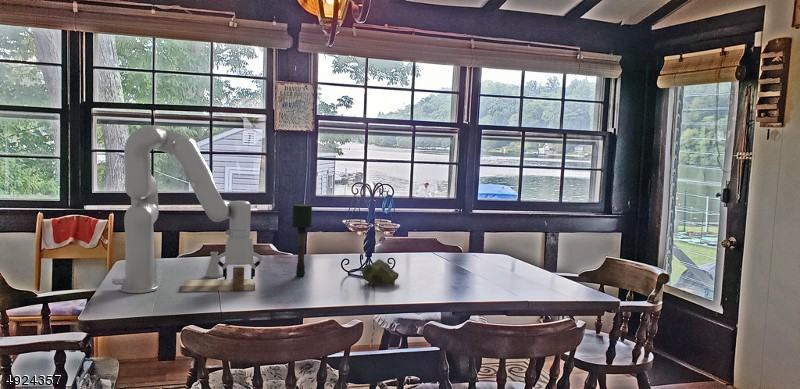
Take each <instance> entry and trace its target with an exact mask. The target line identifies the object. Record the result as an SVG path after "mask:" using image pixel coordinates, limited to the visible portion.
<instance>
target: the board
mask: <svg viewBox="0 0 800 389" xmlns="http://www.w3.org/2000/svg"><path fill="white" fill-rule="evenodd" d="M231 290H232V291H233V278H232V279H229V278H227V279H226V280H225V278H224V279H184V280H183V283H182V285H181V292H216V291H217V292H219V291H220V292H222V291H231ZM244 291H256V279H255V278H253V279H251V278H244Z"/></svg>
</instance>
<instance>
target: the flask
mask: <svg viewBox="0 0 800 389" xmlns="http://www.w3.org/2000/svg"><path fill="white" fill-rule="evenodd" d="M218 255H219V251H210V262H209V264H208V267H207V269H206V272H205V275H204V277H205V278H211V279H216V278H217V279H218V278H219V279H220V278H221V277H222V278H223V271H222V270H221V269H222V268H221V266H220V265H218V263H217V261H216V259H215V257H216V256H218Z"/></svg>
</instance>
